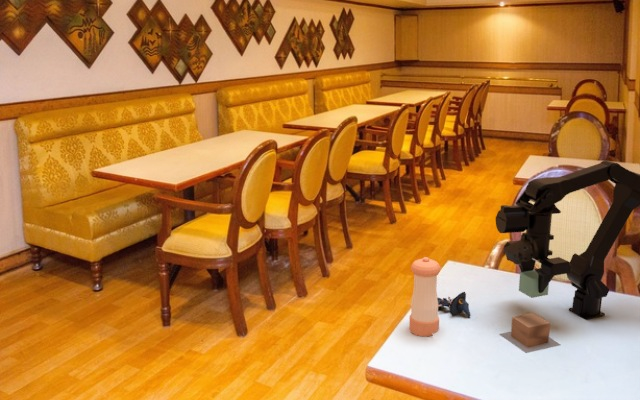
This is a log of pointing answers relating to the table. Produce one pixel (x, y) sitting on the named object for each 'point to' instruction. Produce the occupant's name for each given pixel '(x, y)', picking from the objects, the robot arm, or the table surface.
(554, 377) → the table surface
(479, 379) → the table surface
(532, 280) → the green cube
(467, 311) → the toy
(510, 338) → the mat
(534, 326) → the walnut block
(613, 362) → the table surface
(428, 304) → the pepper shaker
